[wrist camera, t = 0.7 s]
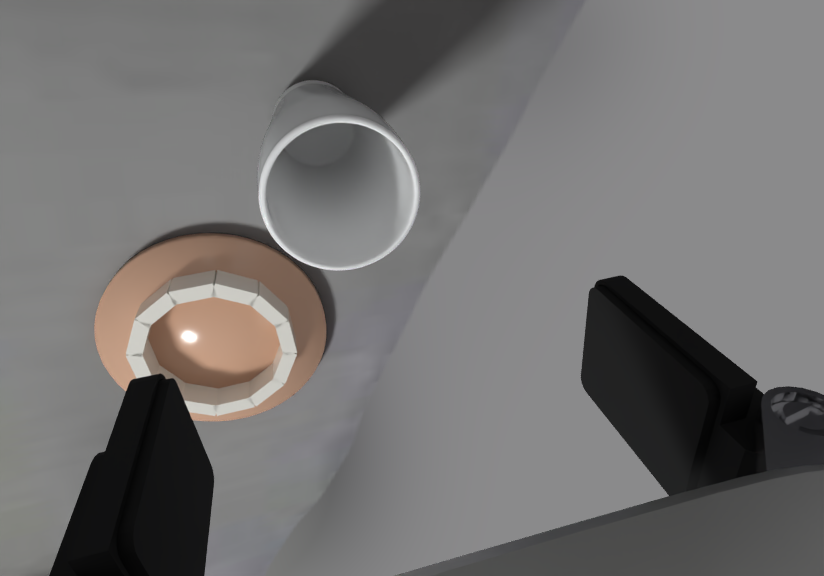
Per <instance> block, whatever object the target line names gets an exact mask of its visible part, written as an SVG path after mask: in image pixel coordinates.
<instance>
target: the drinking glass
mask: <svg viewBox="0 0 824 576" xmlns="http://www.w3.org/2000/svg"><path fill="white" fill-rule="evenodd" d="M257 188H258V196H259V206H260V210H261V214H262V217H263V220H264V223H265V225H266V227H267V229H268V231H269V232H270V234H271V236H272V237H273V238H274V240H275V241H276V242H277V243H278V244H279V245H280V247H281V248H283V249H284V250H285V251H286V252H287V253H288V254H290V255H291V256H292V257H294V258H296V259H297V260H299V261H301V262H303V263H305V264H308V265H310V266H313V267H317V268H321V269H326V270H351V269H356V268H360V267H364V266H367V265H369V264H372V263H374V262H376V261H378V260H380V259H382V258H383V257H385V256H386V255H388V254H389V253H390V252H392V251H393V250H394V249H395V248H396V247H397V246H398V245H399V244H400V243H401V242H402V241H403V239H404V238H405V237H406V235H407V234H408V233H409V231H410V229H411V227H412V225H413V223H414V221H415V219H416V216H417V213H418V209H419V204H420V193H421V189H420V179H419V174H418V170H417V167H416V164H415V162H414V160H413V158H412V156H411V154H410V152H409V151H408V149H407V148H406V146H405V145H404V143H403V142H402V140H401V139H400V137H399V136H398V135H397V133H396V132H395V131H394V130H393V128H392V127H391V126H390V125H389V124H388V123H387V122H386V121H385V120H384V119H383V118H382V117H381V116H380V115H378V114H377V113H376V112H375V111H374V110H372V109H371V108H369V107H368V106H366V105H365V104H363V103H361V102H359V101H358V100H356V99H354V98H352V97H350V96H348V95H346V94H344V93H343V92H342V91H341V90H340V89H338V88H337V87H336V86H334V85H332V84H330V83H327V82H324V81H319V80H306V81H302V82H299V83H296V84H294V85H292V86H291V87H289V88H288V89H287V90H286V91H284V92H283V94H282V95H281V96H280V97H279V99H278V101H277V102H276V105H275V107H274V110H273V115H272V120H271V122H270V125H269V127H268V129H267V131H266V134H265V136H264V138H263V142H262V145H261V148H260V153H259V158H258V167H257Z"/></svg>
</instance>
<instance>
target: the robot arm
mask: <svg viewBox="0 0 824 576" xmlns="http://www.w3.org/2000/svg"><path fill="white" fill-rule="evenodd" d="M581 381H582V384H583V387H584V389H585V391H586V392H587V393H588V395H589V396H590V397H591V398H592V400H593V401H594V402H595V404H596V405H597V406H598V407H599V408H600V410H601V411H602V412H603V414H604V415H605V416H606V417H607V419H608V420H609V421H610V422H611V424H612V425H613V426H614V427H615V429H616V430H617V431H618V432H619V434H620V435H621V436H622V437H623V438H624V440H625V441H626V442H627V444H628V445H629V446H630V447H631V449H632V450H633V451H634V452H635V454H636V455H637V456H638V457H639V459H641V461H642V462H643V464H644V465H645V466H646V467H647V469H648V470H649V471H650V472H651V474H652V475H653V476H654V477H655V478H656V480H657V481H658V482H659V483H660V485H661V486H662V487H663V489H664V490H665V491H666V492H667V494H668V495H669V496H668V497H665V498H662V499H658V500H654V501H651V502H647V503H644V504H641V505H637V506H633V507H630V508H626V509H623V510H619V511H616V512H612V513H609V514H605V515H602V516H598V517H595V518H591V519H587V520H584V521H580V522H577V523H574V524H570V525H566V526H563V527H560V528H556V529H553V530H549V531H546V532H542V533H539V534H535V535H532V536H529V537H525V538H522V539H519V540H515V541H511V542H508V543H505V544H501V545H498V546H494V547H491V548H487V549H484V550H480V551H477V552H474V553H470V554H467V555H463V556H460V557H456V558H453V559H450V560H446V561H443V562H439V563H436V564H432V565H429V566H426V567H422V568H419V569H416V570H412V571H409V572H405V573H402V574H399V575H395V576H824V395H822V394H820V393H818V392H815V391H811V390H808V389H804V388H797V387H777V388H774V389H771V390H768V391H767V392H766V393H765V394H763V393H762V392H761V391H759V390H758V389H757V388H756V385H757V381H756V380H755V379H754V378H752V377H751V376H750V375H748V374H747V373H746V372H745V371H743V370H742V369H741V368H740V367H738V366H737V365H736V364H734V363H733V362H732V361H731V360H730V359H728V358H727V357H726V356H725V355H723V354H722V353H721V352H719V351H718V350H717V349H716V348H714V347H713V346H712V345H710V344H709V343H708V342H707V341H706V340H704V339H703V338H702V337H701V336H699V335H698V334H697V333H695V332H694V331H693V330H692V329H691V328H689V327H688V326H687V325H685V324H684V323H683V322H682V321H680V320H679V319H678V318H677V317H675V316H674V315H673V314H672V313H670V312H669V311H668V310H667V309H665V308H664V307H663V306H662V305H660V304H659V303H658V302H656V301H655V300H654V299H653V298H651V297H650V296H649V295H648V294H646V293H645V292H644V291H643V290H641V289H640V288H639V287H638V286H636V285H635V284H634V283H632V282H631V281H630V280H629V279H627V278H626V277H624V276H616V277H611V278H607V279H602V280H599V281H597V282H596V284H595V287H594V288H592V289H590V291H589V298H588V309H587V319H586V329H585V339H584V350H583V360H582V371H581ZM213 488H214V475H213V470H212V466H211V464H210V461H209V459H208V456H207V454H206V452H205V449H204V447H203V444H202V442H201V440H200V437H199V435H198V432H197V430H196V428H195V425H194V423H193V420H192V418H191V416H190V413H189V411H188V408H187V406H186V404H185V401H184V399H183V396H182V394H181V392H180V389H179V387H178V384H177V382H176V380H175V379H174V378H170V379H166V378H165V376H164V375H163V374H161V373H160V374H155V375H150V376H146V377H141V378H136V379H133V380H131V381H130V383H129V385H128V388H127V391H126V393H125V396H124V399H123V402H122V405H121V408H120V411H119V414H118V416H117V419H116V422H115V425H114V428H113V431H112V434H111V436H110V439H109V442H108V445H107V448H106V451H105V452H101V453H98V454H97V455H96V456H95V457H94V459H93V461H92V463H91V465H90V468H89V470H88V473H87V476H86V478H85V481H84V484H83V486H82V489H81V492H80V494H79V497H78V500H77V503H76V505H75V508H74V511H73V513H72V516H71V519H70V521H69V524H68V527H67V530H66V532H65V535H64V538H63V540H62V543H61V546H60V548H59V551H58V554H57V556H56V559H55V562H54V565H53V567H52V570H51V573H50V575H49V576H204V573H205V563H206V554H207V544H208V535H209V525H210V516H211V506H212V497H213Z"/></svg>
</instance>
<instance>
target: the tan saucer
mask: <svg viewBox="0 0 824 576" xmlns="http://www.w3.org/2000/svg"><path fill="white" fill-rule="evenodd" d="M94 328H95V341H96V345H97V349H98V353H99V355H100V357H101V360H102V362H103V364H104V366H105V367H106V369H107V371H108V372H109V374H110V375H111V376H112V378H113V379H114V380H115V381H116V382H117V384H118V385H119V386H121V387H122V388H123V389H124V390H125V391H127V388H128V385H129V383H130V381H131V380H133V379H136V378H141V377H146V376H150V375H155V374H160V373H161V374H163V375H164V376H165V378H166V379H170V378H174V379H175V380H176V382H177V384H178V387H179V389H180V392H181V394H182V396H183V399H184V401H185V404H186V406H187V408H188V411H189V413H190V416H191V418H192V420H198V421H227V420H235V419H240V418H245V417H249V416H252V415H256V414H259V413H262V412H264V411H267V410H269V409H271V408H273V407H275V406H277V405H279V404H281V403H282V402H284V401H285V400H287V399H288V398H290V397H291V396H293V395H294V394H295V393H296V392H297V391H298V390H300V389H301V388H302V387H303V385H304V384H305V383H306V382H307V381H308V380H309V379H310V377H311V376H312V374H313V373H314V372H315V370H316V368H317V366H318V364H319V362H320V360H321V358H322V355H323V352H324V348H325V342H326V321H325V314H324V309H323V305H322V302H321V299H320V296H319V294H318V292H317V290H316V288H315V286H314V285H313V283H312V282H311V280H310V279H309V277H308V276H307V275H306V274H305V273H304V272H303V270H302V269H301V268H300V267H299V266H298V265H297V264H295V263H294V262H293V261H292V260H291V259H290V258H288V257H287V256H285V255H284V254H282V253H281V252H279V251H278V250H276V249H274V248H272V247H270V246H268V245H266V244H263V243H261V242H258V241H255V240H252V239H249V238H245V237H241V236H236V235H231V234H222V233H197V234H189V235H183V236H179V237H175V238H170V239H167V240H165V241H162V242H159V243H157V244H154V245H152V246H150V247H148V248H147V249H145V250H143V251H141V252H139V253H138V254H137V255H135V256H134V257H133V258H131V259H130V260H128V261H127V262H126V263H125V264H124V265H123V266H122V267H121V268H120V269H119V270H118V271H117V273H116V274H115V276H114V277H113V278H112V280H111V281H110V282H109V284H108V286H107V288H106V290H105V292H104V294H103V296H102V298H101V300H100V302H99V305H98V308H97V312H96V317H95V325H94Z"/></svg>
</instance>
